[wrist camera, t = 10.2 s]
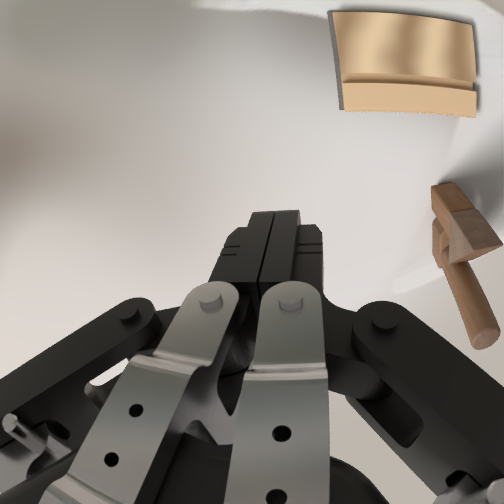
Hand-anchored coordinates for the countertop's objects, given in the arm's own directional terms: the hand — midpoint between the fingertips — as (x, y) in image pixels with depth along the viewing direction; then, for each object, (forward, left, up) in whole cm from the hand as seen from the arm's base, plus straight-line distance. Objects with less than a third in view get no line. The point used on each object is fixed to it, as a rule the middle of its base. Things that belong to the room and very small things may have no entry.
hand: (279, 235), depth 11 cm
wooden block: (-18, +15, -27) cm, 36 cm away
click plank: (-13, -7, -27) cm, 30 cm away
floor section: (-13, -5, -27) cm, 30 cm away
